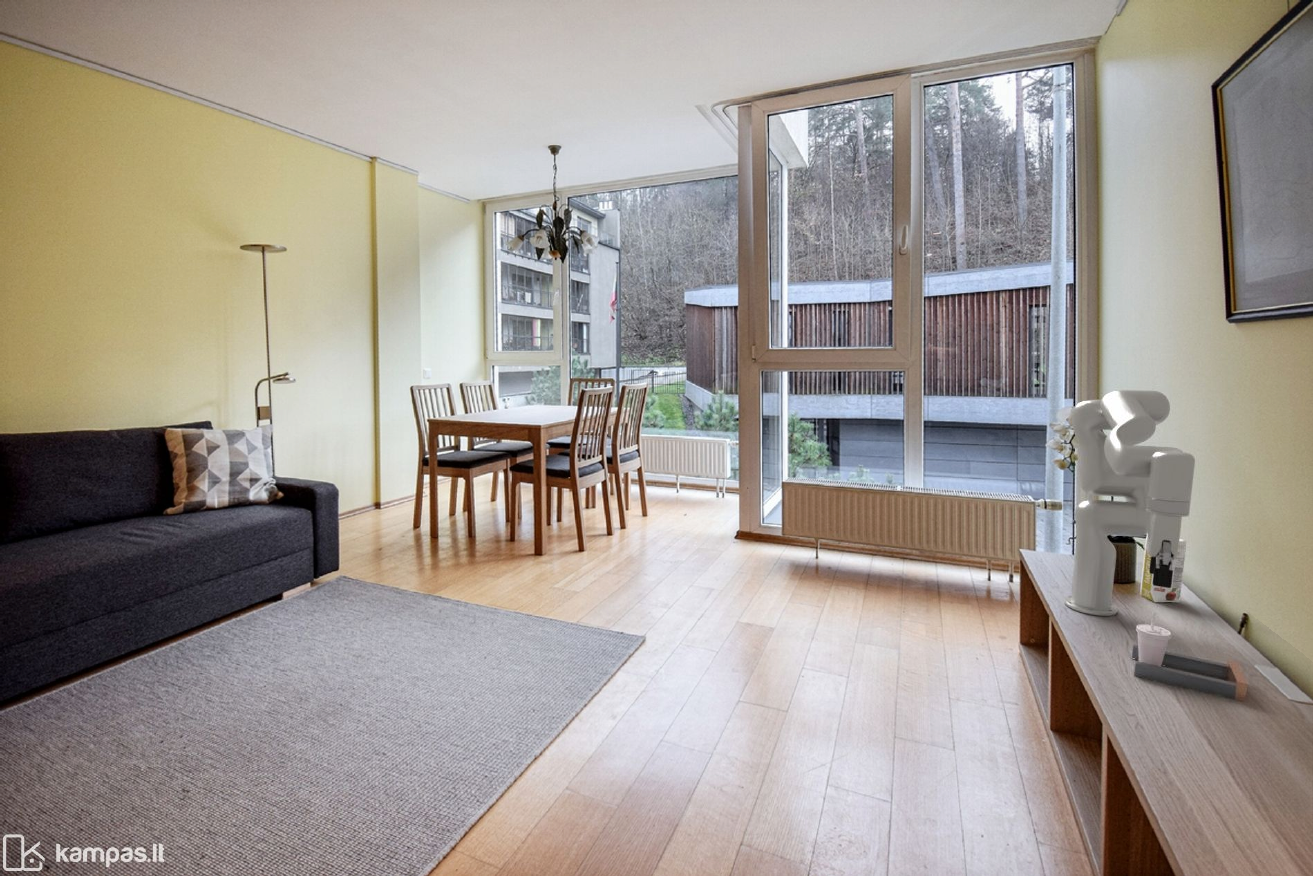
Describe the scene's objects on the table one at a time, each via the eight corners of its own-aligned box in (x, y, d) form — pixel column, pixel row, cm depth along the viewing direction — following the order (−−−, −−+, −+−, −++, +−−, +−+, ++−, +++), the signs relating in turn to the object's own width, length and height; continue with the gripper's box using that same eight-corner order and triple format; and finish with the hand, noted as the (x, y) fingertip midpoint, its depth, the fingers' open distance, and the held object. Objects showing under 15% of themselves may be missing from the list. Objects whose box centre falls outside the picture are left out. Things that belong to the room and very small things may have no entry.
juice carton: (1184, 604, 184) (1191, 541, 182) (1154, 604, 184) (1161, 541, 182) (1163, 594, 192) (1170, 534, 189) (1135, 594, 192) (1141, 534, 189)
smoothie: (1125, 665, 147) (1131, 608, 145) (1143, 660, 149) (1149, 604, 148) (1155, 678, 141) (1162, 619, 139) (1173, 673, 144) (1180, 615, 142)
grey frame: (1131, 656, 152) (1133, 640, 151) (1234, 678, 141) (1237, 662, 141) (1134, 676, 142) (1136, 659, 142) (1245, 701, 132) (1247, 684, 131)
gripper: (1144, 497, 149) (1136, 567, 152) (1149, 511, 135) (1141, 587, 137) (1184, 501, 145) (1176, 573, 147) (1194, 516, 131) (1185, 595, 133)
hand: (1159, 580), depth 142 cm, fingers open, 9 cm apart
